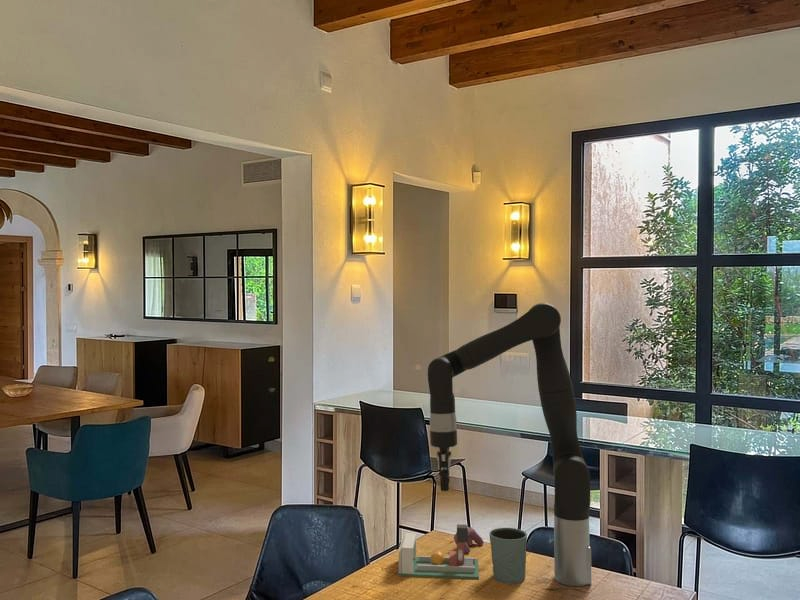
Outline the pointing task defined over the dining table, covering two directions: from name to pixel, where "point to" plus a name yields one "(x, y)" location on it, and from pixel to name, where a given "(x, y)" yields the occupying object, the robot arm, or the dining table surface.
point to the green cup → (508, 555)
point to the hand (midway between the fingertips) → (445, 486)
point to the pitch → (443, 569)
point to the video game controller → (470, 539)
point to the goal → (407, 553)
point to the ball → (437, 558)
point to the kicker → (460, 548)
